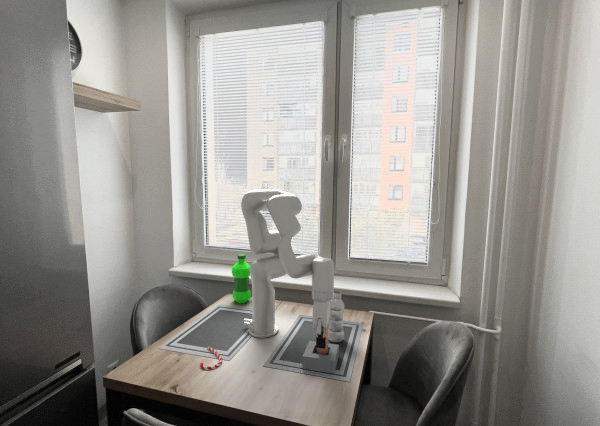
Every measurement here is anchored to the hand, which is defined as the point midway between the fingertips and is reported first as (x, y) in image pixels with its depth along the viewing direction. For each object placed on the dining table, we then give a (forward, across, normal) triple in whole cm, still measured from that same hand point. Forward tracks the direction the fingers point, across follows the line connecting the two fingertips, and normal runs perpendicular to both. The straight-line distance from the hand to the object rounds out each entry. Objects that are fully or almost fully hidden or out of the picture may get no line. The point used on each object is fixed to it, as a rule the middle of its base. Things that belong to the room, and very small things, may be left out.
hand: (322, 344), depth 114 cm
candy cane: (+7, +8, -39) cm, 41 cm away
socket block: (+7, 0, 0) cm, 7 cm away
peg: (+3, 0, 0) cm, 3 cm away
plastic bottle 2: (+7, -17, +2) cm, 19 cm away
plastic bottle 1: (+6, -46, -51) cm, 69 cm away
